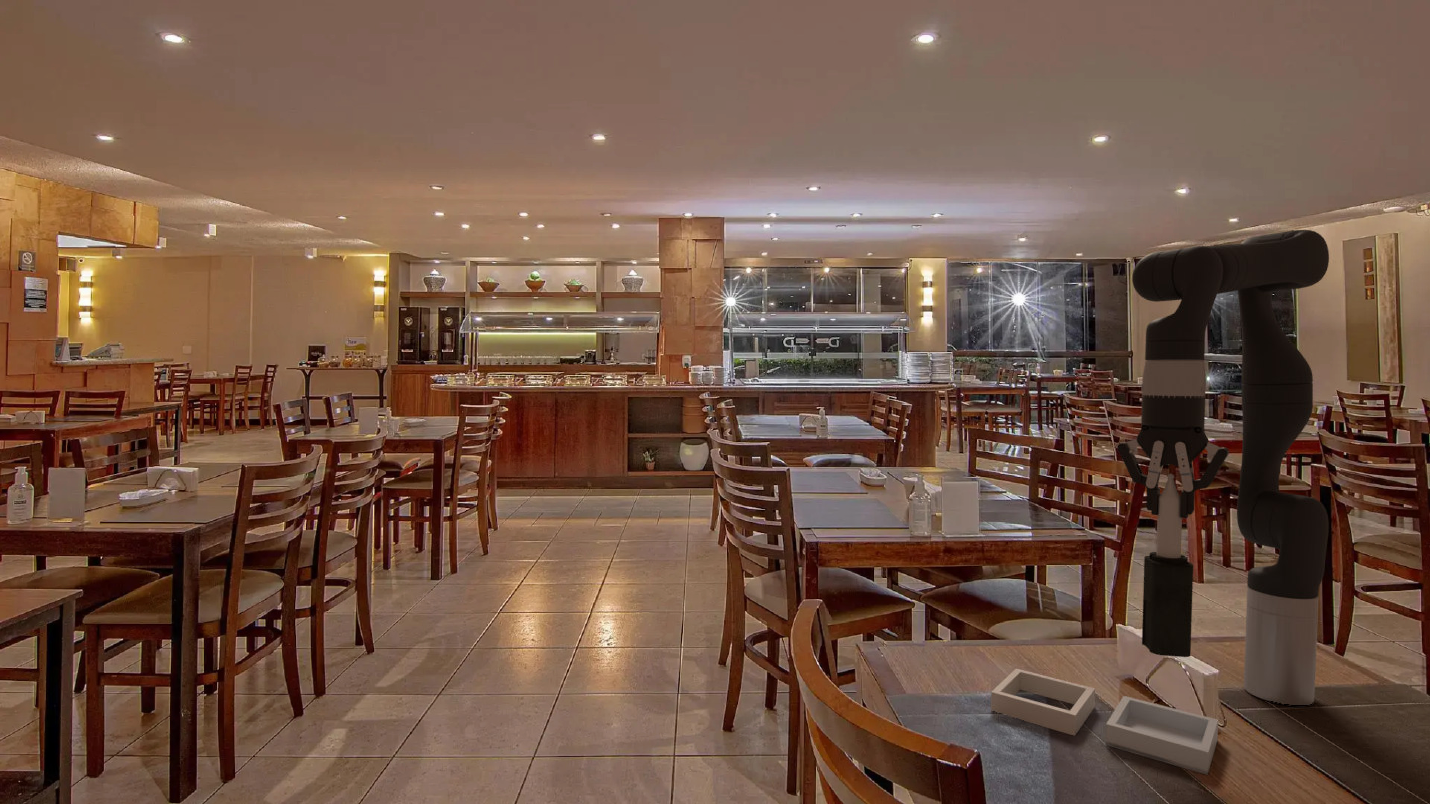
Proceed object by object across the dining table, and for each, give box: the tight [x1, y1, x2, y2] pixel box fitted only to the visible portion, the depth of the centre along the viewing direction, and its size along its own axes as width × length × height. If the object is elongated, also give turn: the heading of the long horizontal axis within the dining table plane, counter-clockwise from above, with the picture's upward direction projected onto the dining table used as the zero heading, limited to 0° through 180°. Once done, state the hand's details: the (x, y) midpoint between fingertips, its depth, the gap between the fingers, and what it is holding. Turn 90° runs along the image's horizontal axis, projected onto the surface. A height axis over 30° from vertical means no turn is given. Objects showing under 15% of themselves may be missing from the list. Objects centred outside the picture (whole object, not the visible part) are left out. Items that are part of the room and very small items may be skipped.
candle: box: [1141, 473, 1194, 658], centre depth 103 cm, size 5×5×25 cm
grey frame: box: [990, 668, 1096, 736], centre depth 114 cm, size 12×12×3 cm
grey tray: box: [1105, 695, 1219, 776], centre depth 104 cm, size 12×12×3 cm
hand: (1169, 515), depth 103 cm, fingers closed on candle, 3 cm apart
